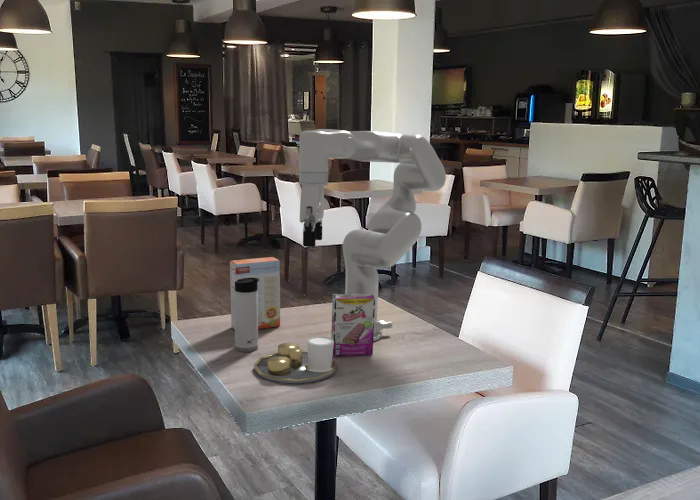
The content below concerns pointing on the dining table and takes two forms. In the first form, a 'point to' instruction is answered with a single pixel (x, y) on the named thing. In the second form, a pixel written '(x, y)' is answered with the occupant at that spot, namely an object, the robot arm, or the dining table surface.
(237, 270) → the cracker box
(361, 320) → the candy bar box
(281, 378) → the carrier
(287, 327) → the dining table surface
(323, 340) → the shot glass
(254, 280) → the travel mug
